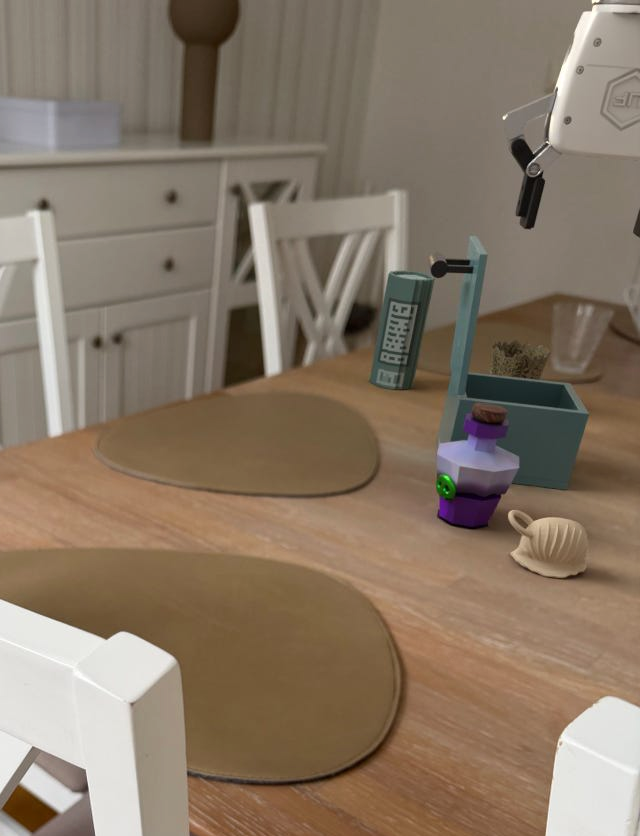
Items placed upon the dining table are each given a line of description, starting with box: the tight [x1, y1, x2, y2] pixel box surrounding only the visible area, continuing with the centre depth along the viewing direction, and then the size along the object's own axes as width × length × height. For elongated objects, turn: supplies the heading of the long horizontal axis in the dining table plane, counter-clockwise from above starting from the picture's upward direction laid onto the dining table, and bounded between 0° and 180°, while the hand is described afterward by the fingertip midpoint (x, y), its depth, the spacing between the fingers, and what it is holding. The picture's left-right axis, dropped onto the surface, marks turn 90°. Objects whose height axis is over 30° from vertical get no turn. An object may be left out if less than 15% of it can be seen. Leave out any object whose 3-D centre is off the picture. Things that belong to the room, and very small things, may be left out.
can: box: [368, 269, 436, 391], centre depth 138 cm, size 6×6×15 cm
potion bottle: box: [435, 403, 519, 530], centre depth 99 cm, size 9×9×12 cm
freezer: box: [436, 371, 590, 491], centre depth 114 cm, size 14×12×9 cm
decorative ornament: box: [507, 509, 589, 579], centre depth 92 cm, size 4×8×5 cm, turn 75°
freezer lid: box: [427, 235, 489, 395], centre depth 109 cm, size 15×12×5 cm
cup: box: [489, 339, 551, 380], centre depth 135 cm, size 8×7×8 cm
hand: (583, 232), depth 84 cm, fingers open, 9 cm apart
